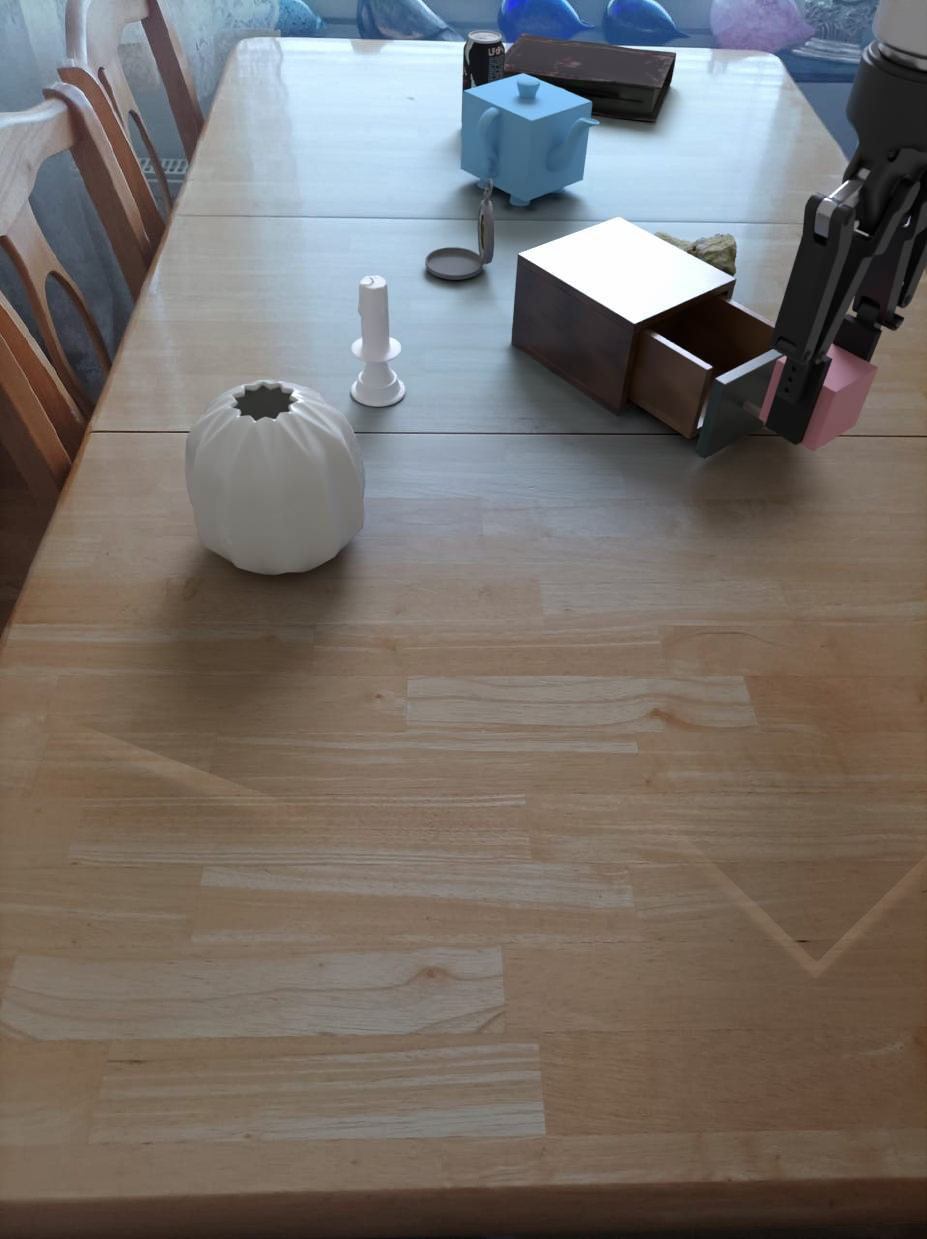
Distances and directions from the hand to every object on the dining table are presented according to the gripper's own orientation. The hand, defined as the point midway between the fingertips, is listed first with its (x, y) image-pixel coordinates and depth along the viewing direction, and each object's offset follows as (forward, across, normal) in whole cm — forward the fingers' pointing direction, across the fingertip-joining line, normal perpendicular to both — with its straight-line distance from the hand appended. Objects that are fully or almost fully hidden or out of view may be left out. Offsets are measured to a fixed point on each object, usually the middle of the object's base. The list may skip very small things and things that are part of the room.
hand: (807, 418), depth 66 cm
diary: (+15, -63, -84) cm, 106 cm away
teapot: (+15, -32, -62) cm, 71 cm away
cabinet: (+14, -12, -29) cm, 35 cm away
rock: (+15, -31, -35) cm, 49 cm away
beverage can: (+15, -40, -83) cm, 93 cm away
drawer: (+13, -12, -16) cm, 24 cm away
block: (0, 0, 0) cm, 0 cm away
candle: (+14, +10, -38) cm, 42 cm away
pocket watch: (+15, -12, -52) cm, 55 cm away
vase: (+14, +29, -26) cm, 41 cm away
